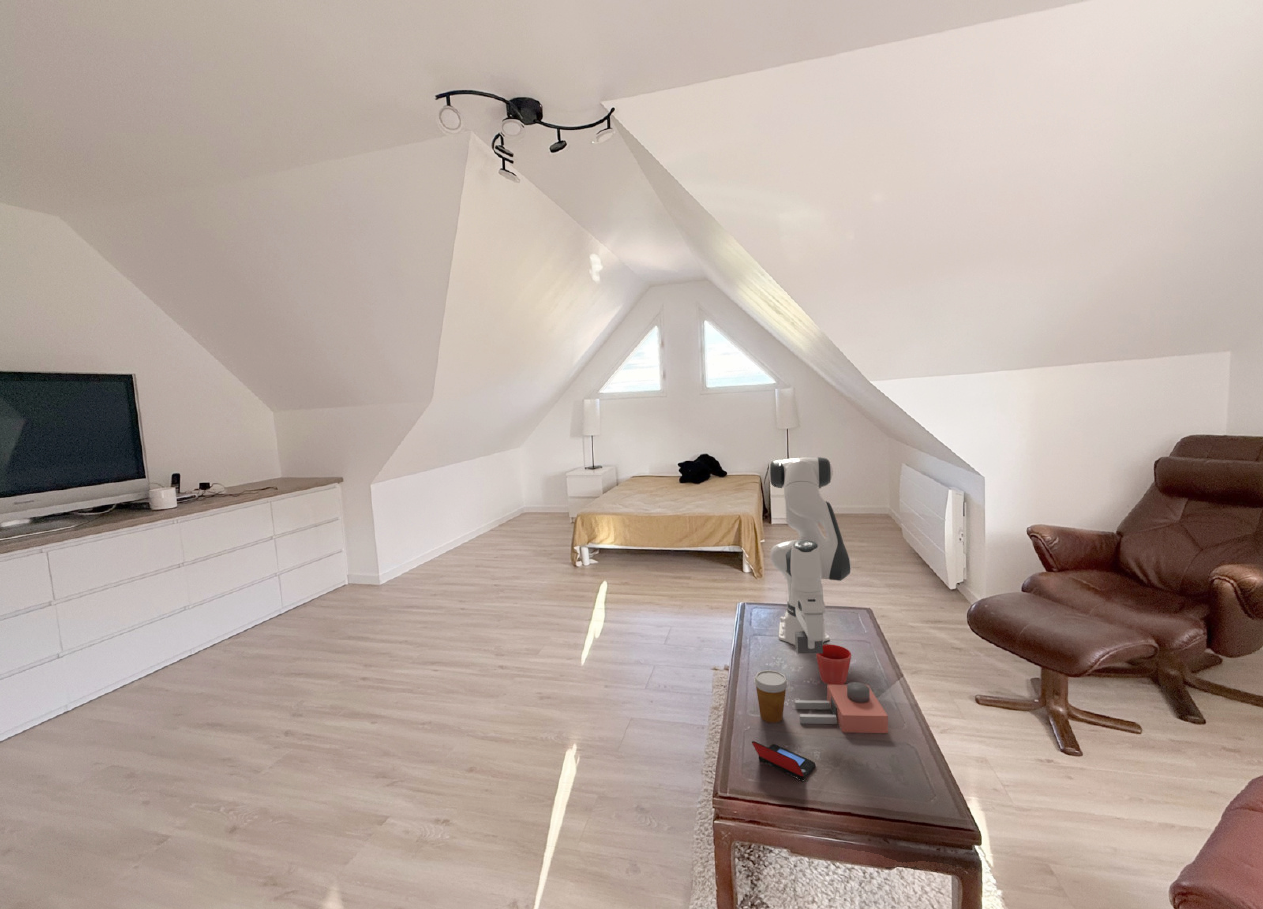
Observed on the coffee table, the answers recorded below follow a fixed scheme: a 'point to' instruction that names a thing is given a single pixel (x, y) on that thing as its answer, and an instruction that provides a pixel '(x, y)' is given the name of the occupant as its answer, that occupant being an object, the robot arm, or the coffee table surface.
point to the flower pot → (834, 664)
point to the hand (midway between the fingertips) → (808, 643)
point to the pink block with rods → (848, 709)
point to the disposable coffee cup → (771, 694)
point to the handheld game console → (785, 760)
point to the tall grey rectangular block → (802, 644)
